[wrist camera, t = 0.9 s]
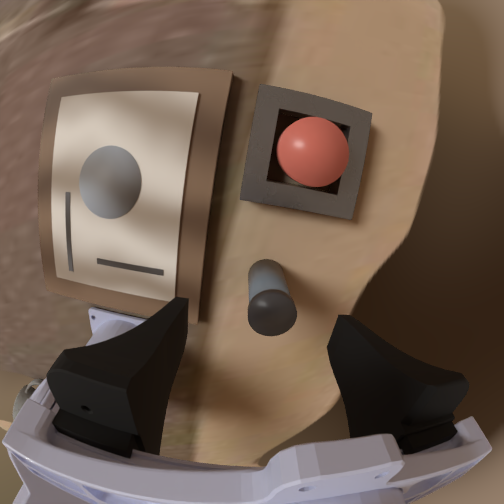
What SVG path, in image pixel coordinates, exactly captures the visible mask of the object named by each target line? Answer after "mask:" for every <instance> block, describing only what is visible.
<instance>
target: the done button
mask: <svg viewBox="0 0 504 504" xmlns="http://www.w3.org/2000/svg"><path fill="white" fill-rule="evenodd" d="M276 156H277V160H278V163H279V165H280V167H281V169H282V170H283V171H284V173H285V174H286V175H287V176H289V177H290V178H291V179H293V180H295V181H297V182H299V183H301V184H304V185H307V186H311V187H321V186H325V185H328V184H331V183H332V182H334V181H336V180H337V179H338V178H339V177H340V176H341V175H342V174H343V172H344V170H345V169H346V166H347V164H348V160H349V147H348V143H347V140H346V138H345V136H344V134H343V133H342V131H341V130H340V129H339V128H338V127H337V126H336V125H335V124H333V123H332V122H330V121H328V120H326V119H323V118H319V117H306V118H302V119H300V120H298V121H296V122H294V123H293V124H291V125H290V126H288V127H287V128H286V129H285V130H284V131H283V132H282V133H281V135H280V137H279V139H278V141H277V145H276Z"/></svg>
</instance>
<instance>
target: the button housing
mask: <svg viewBox="0 0 504 504" xmlns="http://www.w3.org/2000/svg"><path fill="white" fill-rule="evenodd" d="M278 114H283V115H288V116H293V117H297V118H306V117H319V118H323V119H326V120H328V121H330V122H332V123H333V124H335V125H336V126H337V127H338V128H340V129H341V131H342V133H343V134H344V136H345V138H346V140H347V143H348V147H349V160H348V164H347V166H346V169H345V170H344V172H343V174H342V175H341V176H340V177H339V178H338V179H337V180H336V181H334V182H332V183H331V184H330V188H329V191H324V190H320V189H315V188H310V187H305V186H300V185H295V184H290V183H285V182H280V181H274V180H268V179H267V174H268V168H269V162H270V157H271V151H272V146H273V140H274V134H275V129H276V123H277V117H278ZM371 119H372V113H370V112H368V111H365V110H362V109H359V108H356V107H353V106H350V105H347V104H344V103H340V102H337V101H334V100H330V99H327V98H323V97H319V96H315V95H311V94H307V93H303V92H299V91H295V90H290V89H285V88H280V87H275V86H270V85H264V84H260V86H259V90H258V96H257V101H256V107H255V112H254V118H253V123H252V129H251V134H250V140H249V146H248V152H247V157H246V163H245V169H244V175H243V181H242V187H241V193H240V200H245V201H251V202H258V203H264V204H270V205H276V206H281V207H287V208H293V209H298V210H303V211H309V212H314V213H319V214H324V215H329V216H334V217H339V218H344V219H349V220H352V216H353V212H354V208H355V204H356V199H357V195H358V190H359V186H360V181H361V176H362V171H363V166H364V161H365V155H366V150H367V144H368V138H369V132H370V126H371Z"/></svg>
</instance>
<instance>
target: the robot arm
mask: <svg viewBox="0 0 504 504" xmlns="http://www.w3.org/2000/svg"><path fill="white" fill-rule="evenodd" d="M188 307H189V298H182V297H175V298H173V299H172V300H171V301H170V302H169V303H167V304H166V305H165V306H164V307H163V308H162V309H160V310H159V311H158V312H156V313H155V314H154V315H153V316H151V317H150V318H148V319H147V320H146V319H142V318H137V317H132V316H128V315H123V314H119V313H115V312H111V311H106V310H102V309H98V308H95V307H91V308H90V309H89V317H90V323H91V328H92V334H93V336H92V337H91V339H90V340H89V342H88V343H87V344H86V346H84V347H78V348H72V349H65V350H64V351H63V352H62V353H61V354H60V356H59V357H58V358H57V360H56V361H55V362H54V364H53V365H52V367H51V368H50V370H49V371H48V373H47V378H46V379H44V380H43V381H42V383H41V384H40V385H39V386H38V387H37V389H36V390H35V391H34V393H33V394H32V395H31V397H30V398H29V399H27V400H26V402H25V403H24V405H23V406H22V408H21V410H20V411H19V413H18V414H17V416H16V418H15V419H14V421H13V423H12V425H11V426H10V428H9V430H8V431H7V433H6V435H5V437H4V439H3V441H2V442H3V444H4V445H5V446H6V448H7V450H8V454H9V456H10V458H11V460H12V462H13V464H14V466H15V468H16V470H17V472H18V474H19V476H20V478H21V479H22V481H23V483H24V484H23V485H22V487H21V489H20V491H19V492H18V495H17V496H16V498H15V500H14V502H13V504H410V503H412V502H414V501H416V500H418V499H420V498H423V497H425V496H426V495H428V494H431V493H433V492H434V491H436V490H438V489H440V488H442V487H444V486H446V485H447V484H449V483H451V482H453V481H455V480H456V479H458V478H460V477H461V476H463V475H464V474H465V473H466V472H468V471H469V470H470V469H471V468H472V467H473V466H475V465H476V464H477V463H478V462H479V461H481V460H482V459H483V458H484V457H485V456H486V455H487V454H488V453H489V452H490V451H491V450H492V447H491V446H490V444H489V442H488V440H487V439H486V437H485V436H484V434H483V432H482V431H481V429H480V427H479V426H478V424H477V423H476V421H475V420H474V418H473V417H469V418H467V419H465V420H462V421H460V422H458V423H457V424H455V425H454V424H453V423H452V421H453V419H454V418H455V417H454V415H453V413H452V412H453V411H454V410H455V409H456V407H457V406H458V405H459V404H460V402H461V401H462V399H463V398H464V397H465V395H466V393H467V391H468V388H469V382H468V381H467V379H466V378H465V377H464V375H463V374H461V373H458V372H454V371H449V370H444V369H442V368H438V367H435V366H432V365H429V364H427V363H424V362H422V361H420V360H417V359H415V358H413V357H411V356H409V355H407V354H406V353H404V352H402V351H400V350H398V349H397V348H395V347H394V346H392V345H390V344H389V343H388V342H386V341H385V340H383V339H382V338H381V337H379V336H378V335H376V334H375V333H374V332H372V331H371V330H370V329H368V328H367V327H366V326H365V325H363V324H362V323H361V322H359V321H358V320H356V319H355V318H353V317H352V316H350V315H338V318H337V321H336V324H335V327H334V329H333V332H332V335H331V337H330V340H329V343H328V345H327V350H328V355H329V360H330V364H331V367H332V370H333V373H334V376H335V378H336V381H337V384H338V386H339V389H340V392H341V395H342V397H343V401H344V404H345V409H346V414H347V418H348V425H349V432H350V439H342V440H333V441H323V442H311V443H304V444H298V445H294V446H292V447H289V448H286V449H283V450H281V451H280V452H278V453H277V454H276V455H275V456H274V457H272V458H271V459H270V461H269V463H268V464H267V466H265V467H244V466H227V465H216V464H207V463H199V462H192V461H185V460H179V459H174V458H168V457H163V456H159V453H160V445H161V439H162V432H163V426H164V420H165V414H166V409H167V404H168V399H169V394H170V391H171V387H172V384H173V381H174V378H175V375H176V372H177V370H178V367H179V364H180V361H181V358H182V355H183V352H184V348H185V344H186V339H187V334H188ZM94 316H95V317H94Z"/></svg>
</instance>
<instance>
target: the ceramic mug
mask: <svg viewBox="0 0 504 504" xmlns="http://www.w3.org/2000/svg"><path fill="white" fill-rule="evenodd" d="M42 381H43V380H41V379H35V380H33V381H32V382H31V383H30V384H29V385H26V386H24V387H23V388H22V389H21V390H20V392H19V394H18V395H17V397H16V400H15V403H14V407H13V419H15V418H16V416H17V414H18V413H19V411H20V410H21V408H22V406H23V405H24V403H25V402H26V400H27V399H29V398H30V397H31V395H32V394H33V393H34V391H35V390H36V389H34V388H33V387H31V386H32V385H40V384H41V383H42Z"/></svg>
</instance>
